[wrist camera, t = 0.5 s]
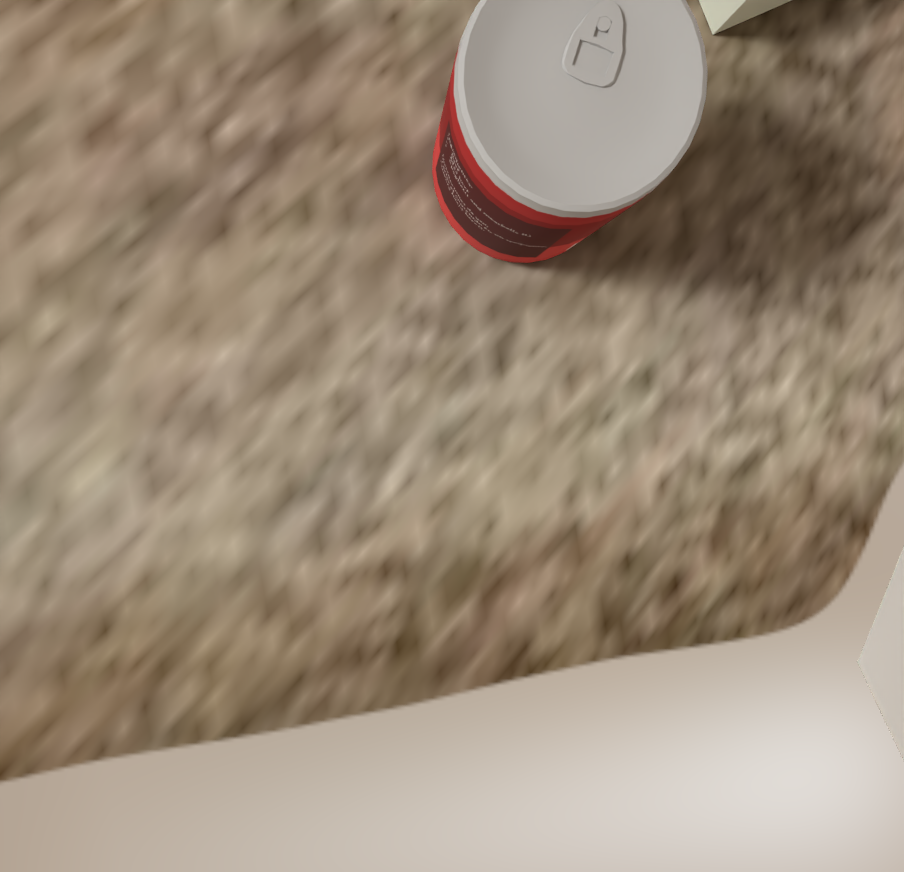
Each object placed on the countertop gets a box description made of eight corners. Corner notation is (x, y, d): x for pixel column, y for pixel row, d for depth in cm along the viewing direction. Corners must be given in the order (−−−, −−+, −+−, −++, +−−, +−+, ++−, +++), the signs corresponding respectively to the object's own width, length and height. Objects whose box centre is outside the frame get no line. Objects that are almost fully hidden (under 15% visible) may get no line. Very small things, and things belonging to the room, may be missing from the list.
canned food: (614, 83, 36) (719, -50, 25) (603, 272, 36) (701, 222, 26) (434, 67, 35) (462, -76, 24) (425, 260, 36) (448, 205, 25)
